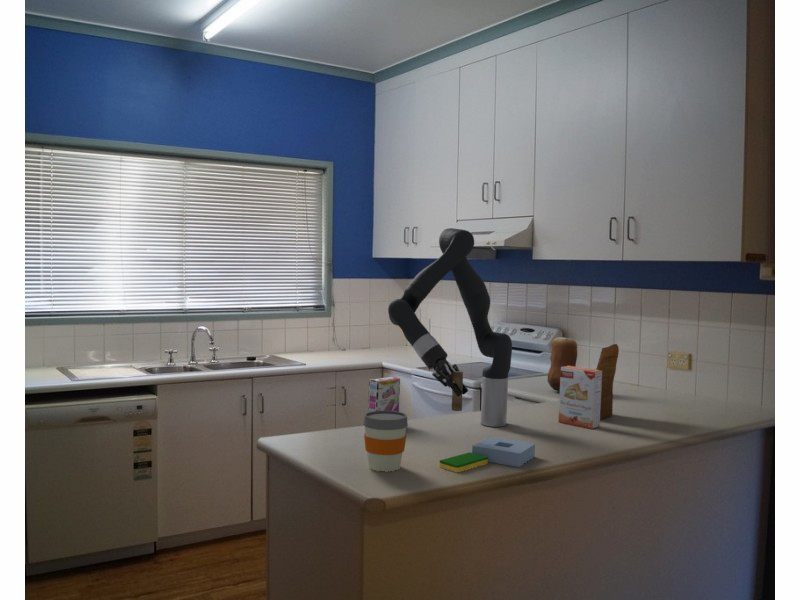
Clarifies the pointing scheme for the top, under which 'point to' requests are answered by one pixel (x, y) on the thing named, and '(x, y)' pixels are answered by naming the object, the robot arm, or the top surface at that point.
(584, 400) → the cracker box
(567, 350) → the butternut squash
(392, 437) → the reusable coffee cup
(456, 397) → the walnut peg
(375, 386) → the candy bar box
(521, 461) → the hole block
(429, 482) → the top surface
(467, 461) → the dish sponge
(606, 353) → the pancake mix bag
